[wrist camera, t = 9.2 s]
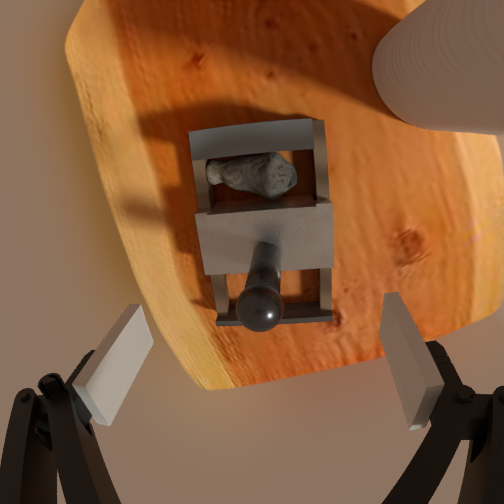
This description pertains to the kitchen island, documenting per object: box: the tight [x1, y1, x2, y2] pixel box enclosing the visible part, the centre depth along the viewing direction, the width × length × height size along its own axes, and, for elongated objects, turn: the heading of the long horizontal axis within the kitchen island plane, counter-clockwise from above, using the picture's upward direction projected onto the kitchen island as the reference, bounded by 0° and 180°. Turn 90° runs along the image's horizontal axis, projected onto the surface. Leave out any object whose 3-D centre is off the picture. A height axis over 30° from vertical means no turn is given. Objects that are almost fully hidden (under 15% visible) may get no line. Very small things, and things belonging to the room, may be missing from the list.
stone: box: [206, 152, 297, 200], centre depth 37 cm, size 10×5×8 cm
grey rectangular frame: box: [188, 118, 333, 326], centre depth 37 cm, size 26×16×9 cm, turn 6°
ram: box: [195, 194, 334, 332], centre depth 33 cm, size 8×16×18 cm, turn 96°
